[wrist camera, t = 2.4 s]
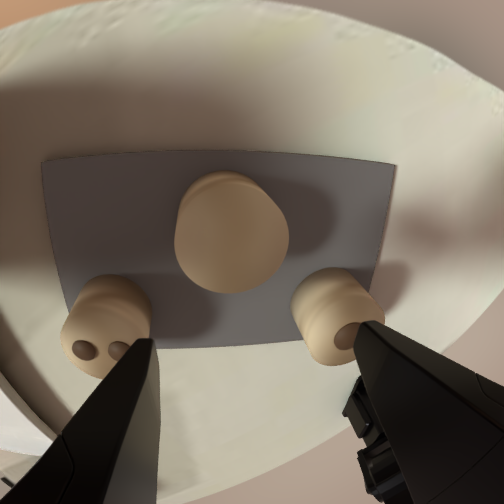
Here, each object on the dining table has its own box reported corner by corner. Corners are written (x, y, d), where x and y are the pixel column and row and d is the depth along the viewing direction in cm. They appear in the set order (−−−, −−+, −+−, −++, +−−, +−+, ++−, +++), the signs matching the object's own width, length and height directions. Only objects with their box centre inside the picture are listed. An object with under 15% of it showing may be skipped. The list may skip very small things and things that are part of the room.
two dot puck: (147, 273, 17) (137, 315, 14) (156, 338, 19) (152, 383, 16) (71, 274, 16) (48, 313, 13) (88, 337, 18) (74, 380, 15)
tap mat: (389, 163, 18) (394, 165, 17) (353, 327, 23) (356, 332, 23) (45, 160, 14) (41, 162, 13) (82, 341, 19) (80, 347, 19)
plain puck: (271, 171, 16) (294, 187, 13) (265, 255, 18) (283, 290, 15) (177, 170, 15) (172, 187, 12) (179, 257, 17) (177, 295, 14)
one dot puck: (363, 265, 20) (395, 298, 16) (348, 324, 22) (373, 360, 18) (295, 268, 19) (319, 306, 15) (286, 331, 21) (304, 373, 17)
